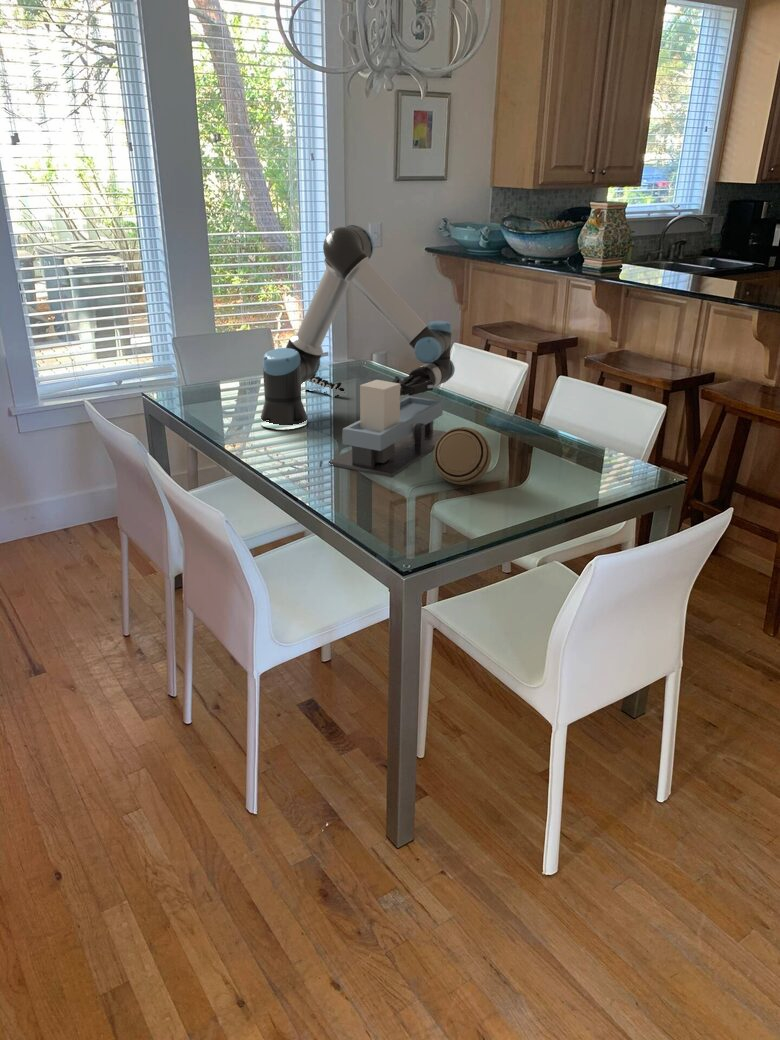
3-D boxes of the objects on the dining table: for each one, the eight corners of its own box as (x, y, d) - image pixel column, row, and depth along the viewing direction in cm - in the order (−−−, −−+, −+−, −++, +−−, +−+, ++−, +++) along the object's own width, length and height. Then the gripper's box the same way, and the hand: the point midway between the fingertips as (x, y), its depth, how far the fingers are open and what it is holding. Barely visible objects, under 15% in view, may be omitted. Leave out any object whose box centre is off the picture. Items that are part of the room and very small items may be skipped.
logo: (295, 387, 297) (299, 362, 292) (299, 386, 299) (303, 361, 294) (338, 409, 288) (342, 383, 282) (342, 407, 289) (346, 382, 284)
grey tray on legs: (406, 424, 252) (406, 395, 248) (443, 430, 246) (444, 401, 242) (341, 460, 219) (340, 428, 216) (382, 468, 214) (382, 435, 210)
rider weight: (376, 420, 228) (376, 379, 223) (399, 425, 223) (400, 383, 219) (360, 427, 221) (360, 385, 217) (383, 432, 217) (384, 389, 213)
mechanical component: (423, 477, 212) (424, 423, 206) (471, 470, 218) (474, 417, 212) (449, 496, 200) (451, 439, 194) (499, 488, 206) (503, 433, 199)
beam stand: (397, 426, 255) (398, 399, 251) (454, 436, 246) (455, 408, 243) (328, 464, 221) (327, 433, 217) (391, 477, 212) (392, 445, 208)
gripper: (443, 393, 240) (408, 411, 221) (405, 387, 246) (368, 405, 227) (444, 368, 237) (409, 385, 218) (405, 363, 243) (368, 379, 224)
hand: (388, 395), depth 223 cm, fingers closed
